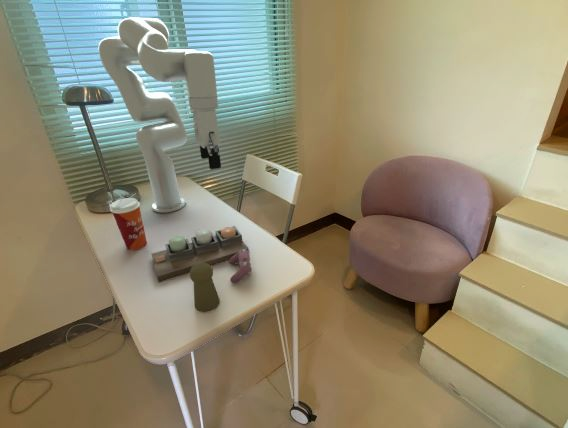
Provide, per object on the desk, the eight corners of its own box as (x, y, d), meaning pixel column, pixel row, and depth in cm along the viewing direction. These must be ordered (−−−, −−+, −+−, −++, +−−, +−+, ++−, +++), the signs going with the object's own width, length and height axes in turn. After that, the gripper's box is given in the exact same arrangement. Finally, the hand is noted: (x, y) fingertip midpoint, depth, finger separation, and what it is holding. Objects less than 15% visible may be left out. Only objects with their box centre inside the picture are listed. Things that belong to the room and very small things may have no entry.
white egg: (195, 239, 95) (193, 231, 93) (209, 235, 97) (208, 227, 95) (198, 246, 91) (197, 238, 90) (213, 242, 93) (212, 234, 92)
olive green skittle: (218, 311, 74) (211, 274, 69) (192, 313, 74) (184, 276, 69) (220, 293, 80) (215, 258, 74) (196, 295, 79) (189, 259, 74)
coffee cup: (140, 253, 97) (127, 209, 90) (117, 250, 98) (102, 208, 91) (155, 238, 104) (144, 197, 97) (133, 236, 105) (121, 195, 98)
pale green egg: (169, 246, 92) (167, 238, 91) (184, 242, 94) (183, 234, 92) (172, 254, 88) (170, 245, 87) (188, 249, 90) (186, 241, 89)
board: (152, 259, 94) (149, 246, 91) (235, 235, 104) (234, 224, 102) (158, 282, 84) (154, 269, 82) (249, 254, 94) (247, 241, 92)
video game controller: (245, 287, 84) (255, 267, 81) (229, 283, 82) (238, 262, 80) (243, 265, 92) (252, 246, 90) (228, 261, 91) (237, 242, 88)
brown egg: (220, 237, 99) (218, 229, 97) (233, 233, 100) (232, 225, 99) (224, 244, 95) (223, 235, 94) (238, 240, 97) (237, 231, 95)
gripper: (183, 98, 90) (191, 156, 99) (197, 110, 77) (205, 175, 85) (209, 96, 93) (215, 152, 102) (226, 107, 80) (232, 170, 88)
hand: (210, 162), depth 94 cm, fingers open, 9 cm apart
